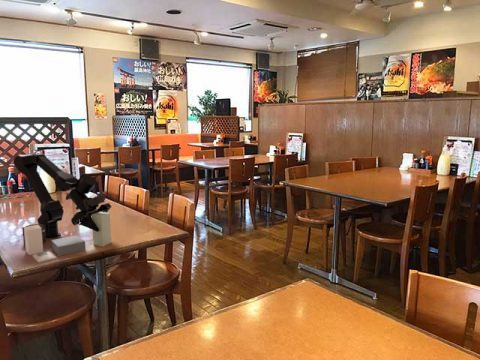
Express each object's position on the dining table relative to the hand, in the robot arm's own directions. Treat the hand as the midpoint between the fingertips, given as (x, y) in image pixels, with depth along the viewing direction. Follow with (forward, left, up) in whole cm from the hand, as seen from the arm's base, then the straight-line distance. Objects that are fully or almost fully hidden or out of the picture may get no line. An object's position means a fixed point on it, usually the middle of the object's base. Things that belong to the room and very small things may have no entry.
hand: (104, 228), depth 159 cm
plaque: (0, -24, -7) cm, 25 cm away
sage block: (-1, -1, -7) cm, 7 cm away
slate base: (-3, -14, -7) cm, 16 cm away
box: (-21, -22, -7) cm, 31 cm away
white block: (-9, -25, -7) cm, 27 cm away
